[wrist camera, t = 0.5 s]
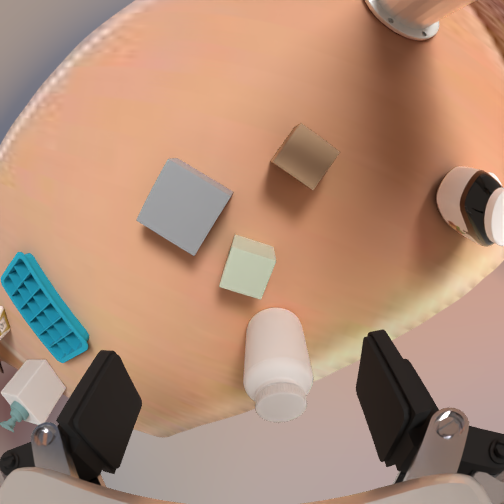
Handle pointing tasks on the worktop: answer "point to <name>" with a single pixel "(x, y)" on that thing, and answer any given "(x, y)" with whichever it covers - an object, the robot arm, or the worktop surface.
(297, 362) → the pill bottle
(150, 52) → the worktop surface
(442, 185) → the spread jar
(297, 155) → the walnut cube
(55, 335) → the ice cube tray
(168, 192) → the base block
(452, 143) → the worktop surface
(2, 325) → the juice carton
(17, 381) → the soap bottle
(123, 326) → the worktop surface
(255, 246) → the sage cube
